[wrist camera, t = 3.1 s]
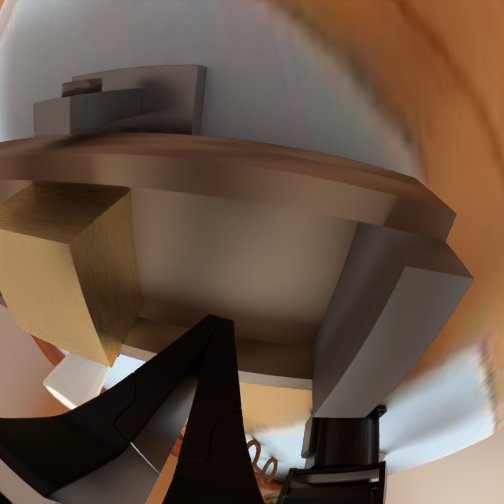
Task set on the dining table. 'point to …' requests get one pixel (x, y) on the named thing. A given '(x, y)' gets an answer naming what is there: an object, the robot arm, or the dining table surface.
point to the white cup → (76, 380)
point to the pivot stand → (127, 102)
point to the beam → (271, 254)
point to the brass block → (71, 267)
